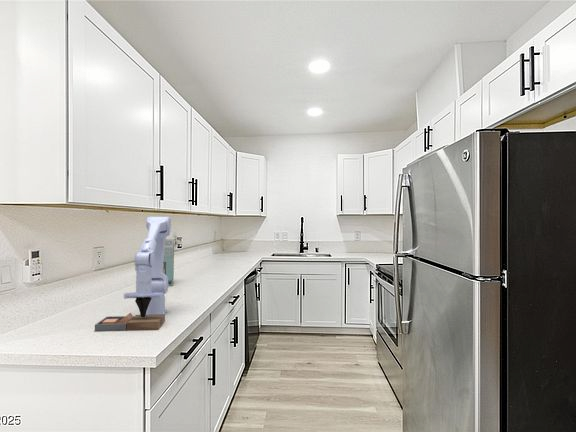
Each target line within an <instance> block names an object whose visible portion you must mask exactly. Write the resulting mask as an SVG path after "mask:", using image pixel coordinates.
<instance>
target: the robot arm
mask: <svg viewBox="0 0 576 432" xmlns="http://www.w3.org/2000/svg"><path fill="white" fill-rule="evenodd" d="M171 219H172V218H171V217H170V216H150V215H149V216H148V217H147V218H146V220H145V226H146V229H147V231H148V232H147V236H146V238H145V239H143V240H142V243H141V246H140V248H139V251H138V252H137V253H135V255H134V260H133V262H134V266H135V267H134V268H135V269H134V270H135V272H136V275H135V276H136V277H135V279H136V280H135V282H136V284H135V291H134V292H125V293H123V299H124V300H126V299H135V300H134V301H135V304H136V306H137V308H138V310H139V313H140V314H139V315H141V317H145V316H146V315H151V314H165V315H166V313H167V312H168V310H167V309H166V297H165V294H167V293H168V291H169V286H168V277H167V276H166V275H165V274H164V273H163V272H162V271H163V260H164V249H165V240H166V239H167V237H169V236H170V234H171V229H172V227H171V226H172V220H171ZM152 279H163V280H152Z"/></svg>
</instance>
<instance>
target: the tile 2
mask: <svg viewBox="0 0 576 432" xmlns="http://www.w3.org/2000/svg"><path fill="white" fill-rule="evenodd" d="M124 316H125V317H124V318H123V319H121V320H120V321H119V322H118V324H125V323H126V322H127V321H129V320H130V319H131V318H132V317H133V316H134V315H133V313H131V312H129V313H128V314H127V315H124Z"/></svg>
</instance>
